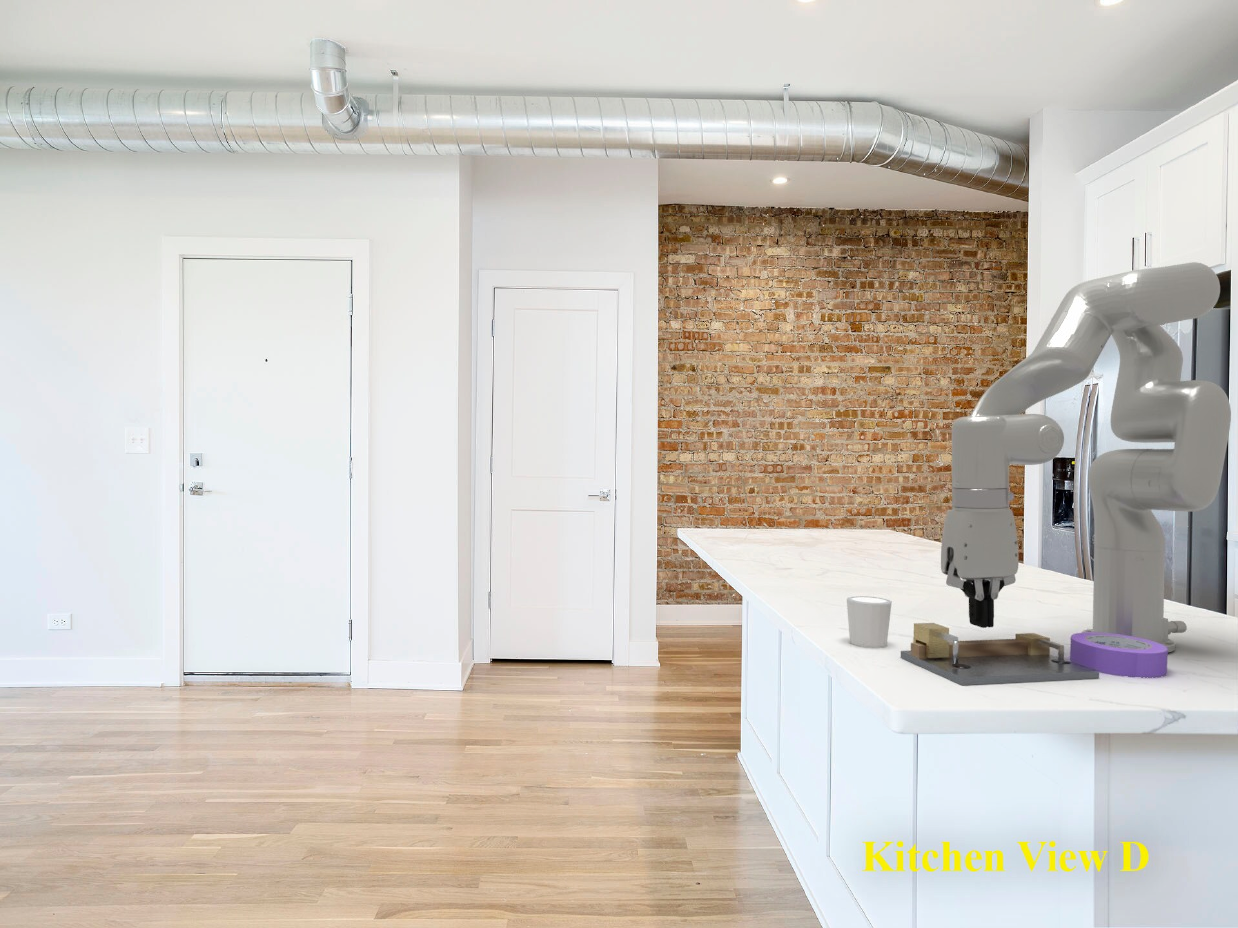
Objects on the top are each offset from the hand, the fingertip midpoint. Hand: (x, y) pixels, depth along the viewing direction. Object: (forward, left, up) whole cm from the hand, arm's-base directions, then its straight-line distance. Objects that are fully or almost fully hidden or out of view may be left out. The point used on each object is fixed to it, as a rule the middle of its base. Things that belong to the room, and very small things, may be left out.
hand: (981, 625), depth 111 cm
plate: (0, +4, -5) cm, 6 cm away
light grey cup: (+11, -12, -5) cm, 17 cm away
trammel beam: (0, +2, -4) cm, 5 cm away
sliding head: (+8, +2, -4) cm, 10 cm away
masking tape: (-18, +6, -6) cm, 20 cm away
